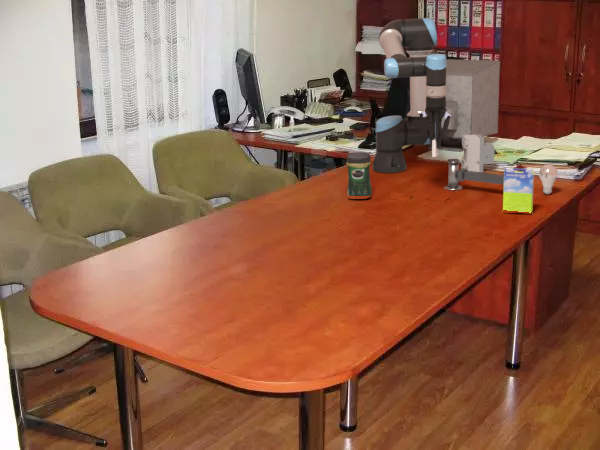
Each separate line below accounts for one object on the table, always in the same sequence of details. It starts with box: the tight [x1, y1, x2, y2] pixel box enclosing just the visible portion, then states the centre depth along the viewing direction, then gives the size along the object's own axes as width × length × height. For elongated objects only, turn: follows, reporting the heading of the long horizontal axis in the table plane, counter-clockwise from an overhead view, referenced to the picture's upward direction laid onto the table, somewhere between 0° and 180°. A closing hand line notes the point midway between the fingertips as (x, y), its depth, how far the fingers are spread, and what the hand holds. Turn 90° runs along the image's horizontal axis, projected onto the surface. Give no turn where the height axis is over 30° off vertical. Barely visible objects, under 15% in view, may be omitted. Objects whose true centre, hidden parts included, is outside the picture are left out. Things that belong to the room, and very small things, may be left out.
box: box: [502, 167, 535, 213], centre depth 298 cm, size 10×4×17 cm, turn 72°
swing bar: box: [458, 168, 505, 186], centre depth 324 cm, size 22×5×6 cm, turn 54°
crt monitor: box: [427, 58, 501, 153], centre depth 397 cm, size 35×37×40 cm
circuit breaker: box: [460, 134, 498, 173], centre depth 358 cm, size 8×14×15 cm, turn 89°
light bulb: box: [538, 164, 559, 196], centre depth 319 cm, size 7×7×12 cm
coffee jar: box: [346, 151, 373, 196], centre depth 325 cm, size 10×8×19 cm
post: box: [444, 158, 463, 190], centre depth 332 cm, size 7×7×12 cm
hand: (435, 156), depth 321 cm, fingers closed
